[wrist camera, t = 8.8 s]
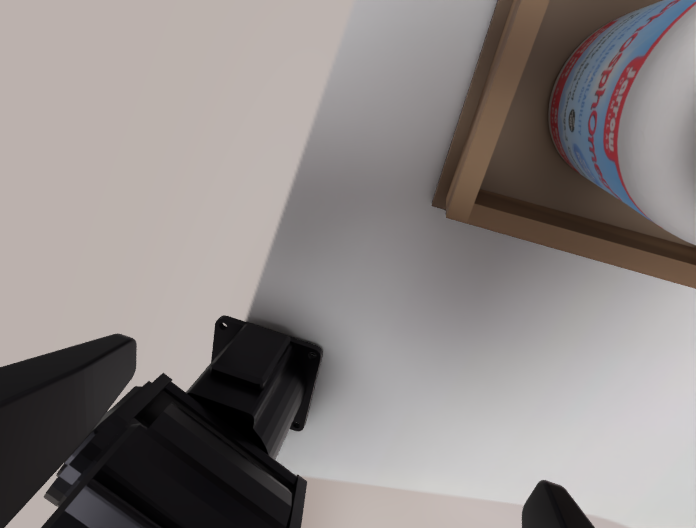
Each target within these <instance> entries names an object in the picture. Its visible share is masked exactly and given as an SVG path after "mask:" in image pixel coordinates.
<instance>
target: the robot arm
mask: <svg viewBox="0 0 696 528" xmlns="http://www.w3.org/2000/svg"><path fill="white" fill-rule="evenodd" d="M223 323H225V324H226V325H227V327H226V326H224V325H223ZM310 352H314V353H315V354H316V356H314V355H312V354H311V353H310ZM322 355H323V351H322V349H321V348H320V347H319V346H317V345H314V344H311V343H308V342H305V341H302V340H299V339H296V338H293V337H290V336H287V335H285V334H282V333H279V332H276V331H272V330H269V329H266V328H263V327H260V326H257V325H254V324H251V323H247V322H244V321H241V320H238V319H235V318H232V317H229V316H221V317H220V318H219V319H218V320H217V321H216V323H215V332H214V342H213V351H212V360H211V364H210V365H209V366H208V367H207V368H206V370H205V371H204V372H203V373H202V374H201V375H200V377H199V378H198V379H197V380H196V381H195V383H194V384H193V385H192V386H191V387H190V388H189V390H188V391H187V392H184V391H183V390H181V389H180V388H179V387H178V386H176V385H175V384H174V383H172V382H171V381H172V379H171V378H169V377H168V376H167V375H165V374H164V373H163V374H162V375H160V376H159V377H158V378H157V379H156V380H155V381H154V382H153V383H151V382H150V381H148V382H147V383H146V384H145V385H144V386H143V387H137V386H135V387H134V388H133V389H132V390H131V391H130V392H129V393H128V394H126V396H124V397H123V398H122V399H121V400H120V401H119V402H118V403H117V404H116V405H115V406H114V407H113V408H112V409H110V410H109V411H108V412H107V410H108V409H109V408H110V406H111V405H112V404H113V403H114V401H115V400H116V399H117V397H118V396H119V395H120V393H121V392H122V391H123V389H124V388H125V387H126V385H127V384H128V383H129V381H130V380H131V379H132V377H133V375H134V373H135V369H136V341H135V340H134V339H133V338H130V337H128V336H125V335H122V334H113V335H110V336H106V337H103V338H99V339H96V340H93V341H89V342H86V343H82V344H79V345H75V346H72V347H68V348H65V349H62V350H58V351H55V352H52V353H48V354H45V355H41V356H37V357H34V358H31V359H27V360H24V361H20V362H17V363H13V364H10V365H7V366H3V367H0V528H4V527H5V526H6V525H7V524H8V523H9V522H10V521H11V520H12V519H13V517H14V516H15V515H16V514H17V513H18V512H19V511H20V510H21V509H22V508H23V507H24V506H25V504H26V503H27V502H28V501H29V500H30V499H31V498H32V497H33V496H34V495H35V493H36V492H37V491H38V490H39V489H40V488H41V487H42V486H43V485H44V484H45V483H46V482H47V480H48V479H49V478H50V477H51V476H52V475H53V474H54V473H55V472H56V471H57V470H58V469H59V467H60V466H61V465H62V464H63V463H64V465H63V466H62V467H61V469H60V470H59V471H58V473H57V477H58V478H57V479H56V480H55V481H54V483H53V484H52V485H51V487H50V488H49V489H48V491H47V492H46V494H45V496H44V498H45V499H47V500H48V501H50V502H51V503H53V504H54V505H55V506H58V507H59V508H58V509H57V510H56V511H55V512H54V513H53V514H52V516H51V517H50V518H49V519H48V520H47V522H46V523H45V524H44V525H43V526H42V527H41V528H301V522H302V515H303V508H304V499H305V493H306V486H307V481H306V480H304V479H303V478H302V477H300V476H299V475H297V476H296V475H294V474H293V473H292V472H290V471H289V470H288V469H286V468H285V467H284V466H282V465H281V464H280V463H278V462H277V461H276V460H275V459H276V457H277V455H278V453H279V450H280V448H281V446H282V444H283V442H284V440H285V437H286V435H287V433H288V431H289V429H291V430H294V431H301V430H303V428H304V426H305V423H306V420H307V416H308V412H309V408H310V403H311V399H312V395H313V391H314V387H315V383H316V379H317V375H318V371H319V367H320V363H321V359H322ZM296 422H298V423H299V424H298V423H296ZM522 528H595V527H594V526H593V525H592V523H591V522H590V521H589V519H588V518H587V517H586V515H585V514H584V513H583V511H582V510H581V509H580V507H579V506H578V505H577V504H576V502H575V501H574V500H573V498H572V497H571V496H570V494H569V493H568V492H567V490H566V489H565V488H564V487H562V486H560V485H558V484H555V483H552V482H549V481H546V480H541V481H540V482H539V483H538V484H537V485H536V487H535V489H534V490H533V492H532V493H531V495H530V496H529V498H528V500H527V501H526V503H525V505H524V507H523V511H522Z"/></svg>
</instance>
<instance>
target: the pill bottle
mask: <svg viewBox="0 0 696 528" xmlns="http://www.w3.org/2000/svg"><path fill="white" fill-rule="evenodd" d="M548 120H549V129H550V133H551V137H552V140H553V143H554V145H555V147H556V149H557V151H558V153H559V154H560V156H561V157H562V158H563V160H564V161H565V162H566V163H567V164H568V165H569V166H570V167H571V168H572V169H574V170H575V171H576V172H578V173H579V174H580V175H582V176H584V177H585V178H587V179H588V180H590V181H591V182H593V183H594V184H596V185H597V186H599V187H600V188H602V189H603V190H605V191H607V192H608V193H610V194H611V195H613V196H614V197H616V198H617V199H619V200H621V201H622V202H624V203H625V204H627V205H628V206H630V207H631V208H633V209H634V210H635V211H637V212H638V213H640V214H641V215H643V216H644V217H646V218H647V219H649V220H650V221H652V222H654V223H655V224H657V225H658V226H659V227H661V228H663V229H664V230H666V231H668V232H669V233H671V234H673V235H675V236H677V237H679V238H681V239H682V240H684V241H686V242H689V243H691V244H694V245H696V0H663V1H660V2H657V3H655V4H652V5H649V6H647V7H644V8H641V9H639V10H636V11H633V12H631V13H628V14H626V15H624V16H622V17H619V18H617V19H615V20H613V21H611V22H609V23H607V24H606V25H604V26H603V27H601V28H600V29H598V30H597V31H595V32H594V33H593V34H591V35H590V36H589V37H588V38H587V39H586V40H584V41H583V42H582V43H581V44H580V46H579V47H578V48H577V49H576V50H575V51H574V52H573V53H572V55H571V56H570V57H569V59H568V60H567V61H566V63H565V64H564V66H563V68H562V69H561V71H560V73H559V75H558V77H557V79H556V81H555V84H554V87H553V90H552V93H551V97H550V102H549V111H548Z"/></svg>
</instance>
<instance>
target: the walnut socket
mask: <svg viewBox="0 0 696 528" xmlns="http://www.w3.org/2000/svg"><path fill="white" fill-rule="evenodd" d="M660 1H663V0H498V1H497V4H496V7H495V11H494V14H493V17H492V20H491V23H490V26H489V29H488V32H487V35H486V38H485V41H484V44H483V47H482V50H481V53H480V57H479V60H478V63H477V66H476V69H475V72H474V75H473V78H472V81H471V84H470V87H469V90H468V93H467V96H466V100H465V103H464V106H463V109H462V112H461V115H460V118H459V121H458V124H457V127H456V130H455V133H454V136H453V139H452V143H451V146H450V149H449V152H448V155H447V158H446V161H445V164H444V167H443V170H442V173H441V176H440V179H439V182H438V186H437V189H436V192H435V195H434V198H433V201H432V206H434V207H437V208H441V209H444V210H446V218H449V219H453V220H456V221H460V222H463V223H467V224H470V225H474V226H477V227H481V228H484V229H488V230H491V231H495V232H498V233H502V234H505V235H509V236H512V237H516V238H519V239H523V240H527V241H530V242H534V243H537V244H541V245H544V246H548V247H551V248H555V249H558V250H562V251H565V252H569V253H572V254H576V255H579V256H583V257H586V258H590V259H593V260H597V261H600V262H604V263H607V264H611V265H614V266H618V267H621V268H625V269H628V270H632V271H635V272H639V273H642V274H646V275H650V276H653V277H657V278H660V279H664V280H667V281H671V282H674V283H678V284H681V285H685V286H688V287H692V288H695V289H696V245H694V244H691V243H689V242H686V241H684V240H682V239H681V238H679V237H677V236H675V235H673V234H671V233H669V232H668V231H666V230H664V229H663V228H661V227H659V226H658V225H657V224H655V223H654V222H652V221H650V220H649V219H647V218H646V217H644V216H643V215H641V214H640V213H638V212H637V211H635V210H634V209H633V208H631V207H630V206H628V205H627V204H625V203H624V202H622V201H621V200H619V199H617V198H616V197H614V196H613V195H611V194H610V193H608V192H607V191H605V190H603V189H602V188H600V187H599V186H597V185H596V184H594V183H593V182H591V181H590V180H588V179H587V178H585V177H584V176H582V175H580V174H579V173H578V172H576V171H575V170H574V169H572V168H571V167H570V166H569V165H568V164H567V163H566V162H565V161H564V160H563V158H562V157H561V156H560V154H559V153H558V151H557V149H556V147H555V145H554V143H553V140H552V137H551V133H550V129H549V120H548V111H549V102H550V97H551V93H552V90H553V87H554V84H555V81H556V79H557V77H558V75H559V73H560V71H561V69H562V68H563V66H564V64H565V63H566V61H567V60H568V59H569V57H570V56H571V55H572V53H573V52H574V51H575V50H576V49H577V48H578V47H579V46H580V44H581V43H582V42H583V41H584V40H586V39H587V38H588V37H589V36H590V35H591V34H593V33H594V32H595V31H597V30H598V29H600V28H601V27H603V26H604V25H606V24H607V23H609V22H611V21H613V20H615V19H617V18H619V17H622V16H624V15H626V14H628V13H631V12H633V11H636V10H639V9H641V8H644V7H647V6H649V5H652V4H655V3H657V2H660Z"/></svg>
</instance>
